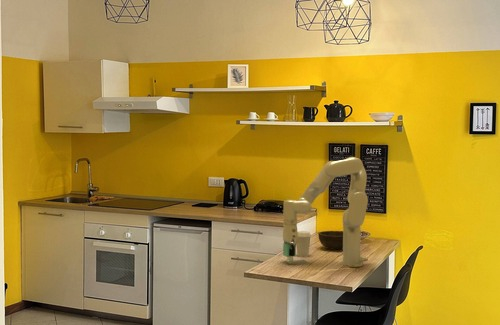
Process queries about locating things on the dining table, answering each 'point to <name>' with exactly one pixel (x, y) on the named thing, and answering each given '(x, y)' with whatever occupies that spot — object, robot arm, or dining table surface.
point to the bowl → (331, 239)
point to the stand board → (298, 262)
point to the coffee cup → (303, 243)
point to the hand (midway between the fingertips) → (289, 254)
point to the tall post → (289, 260)
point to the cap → (287, 249)
